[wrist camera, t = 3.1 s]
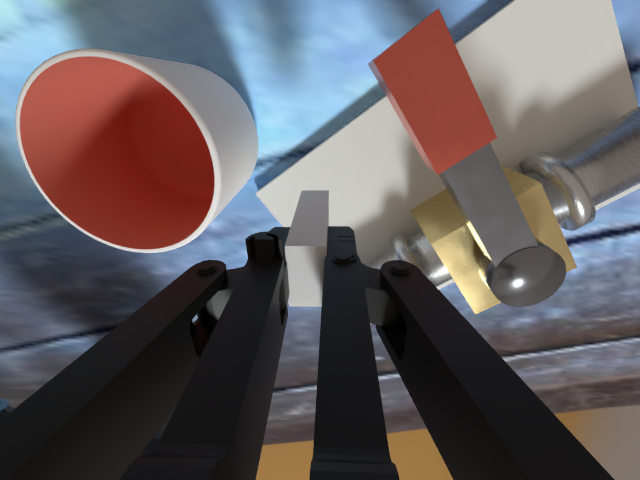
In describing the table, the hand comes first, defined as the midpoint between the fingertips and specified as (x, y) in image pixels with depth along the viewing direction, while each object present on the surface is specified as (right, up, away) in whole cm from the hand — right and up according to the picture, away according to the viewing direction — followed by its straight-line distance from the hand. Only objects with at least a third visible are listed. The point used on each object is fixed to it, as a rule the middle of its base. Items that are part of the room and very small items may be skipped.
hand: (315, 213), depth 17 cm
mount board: (+10, +3, +8) cm, 13 cm away
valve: (+13, +1, +9) cm, 15 cm away
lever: (+9, +2, 0) cm, 9 cm away
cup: (-9, +7, +7) cm, 13 cm away
